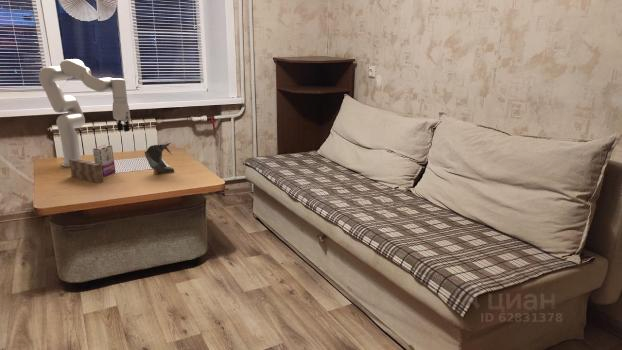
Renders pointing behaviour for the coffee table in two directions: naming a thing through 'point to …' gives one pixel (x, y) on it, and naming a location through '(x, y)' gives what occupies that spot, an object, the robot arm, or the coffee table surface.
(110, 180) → the coffee table surface
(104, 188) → the coffee table surface
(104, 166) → the candy bar box
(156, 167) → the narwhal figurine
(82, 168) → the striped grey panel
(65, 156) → the robot arm
